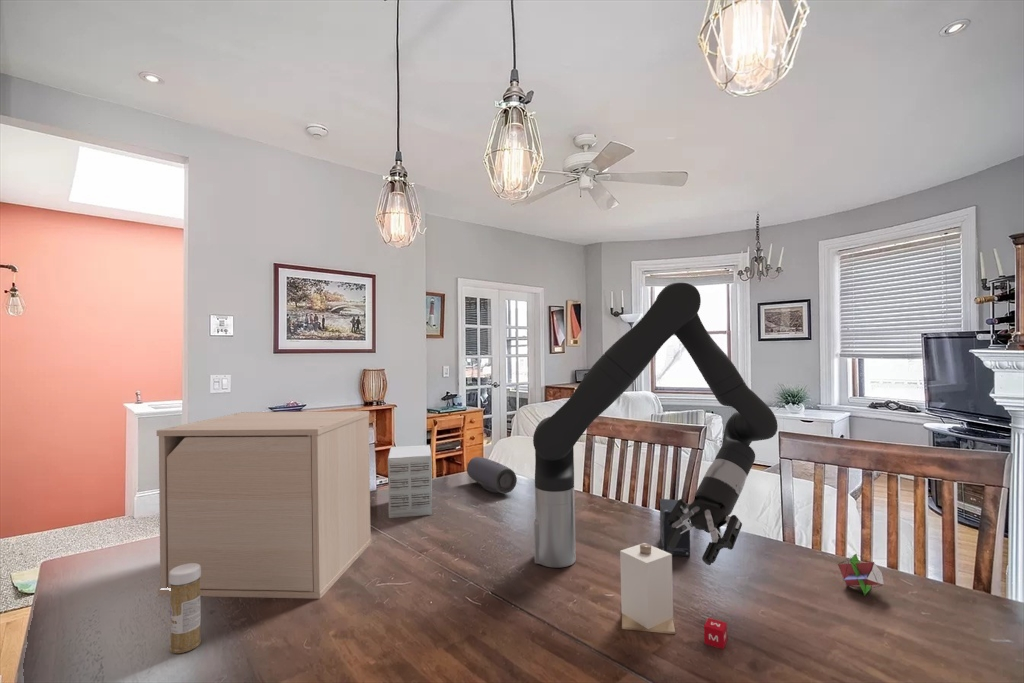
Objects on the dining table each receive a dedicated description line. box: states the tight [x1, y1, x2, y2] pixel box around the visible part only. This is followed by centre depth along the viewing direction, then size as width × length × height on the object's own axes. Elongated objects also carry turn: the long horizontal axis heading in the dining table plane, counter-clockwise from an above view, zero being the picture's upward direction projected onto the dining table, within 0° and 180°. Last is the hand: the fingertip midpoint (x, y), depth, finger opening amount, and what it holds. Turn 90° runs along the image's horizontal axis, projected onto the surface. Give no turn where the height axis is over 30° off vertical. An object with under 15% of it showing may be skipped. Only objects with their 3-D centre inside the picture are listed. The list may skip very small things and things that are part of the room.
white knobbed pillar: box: [619, 542, 674, 629], centre depth 92 cm, size 6×6×13 cm
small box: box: [659, 498, 691, 557], centre depth 123 cm, size 11×6×10 cm, turn 168°
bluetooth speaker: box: [466, 456, 518, 494], centre depth 177 cm, size 23×9×10 cm, turn 30°
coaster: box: [621, 612, 676, 635], centre depth 92 cm, size 9×9×1 cm
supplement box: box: [387, 444, 433, 519], centre depth 158 cm, size 17×13×18 cm
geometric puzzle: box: [837, 553, 885, 596], centre depth 100 cm, size 7×7×8 cm
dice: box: [703, 617, 728, 650], centre depth 84 cm, size 3×3×3 cm
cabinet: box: [156, 410, 372, 600], centre depth 117 cm, size 35×29×34 cm
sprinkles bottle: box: [169, 563, 202, 654], centre depth 85 cm, size 5×5×14 cm
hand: (687, 554), depth 98 cm, fingers open, 8 cm apart
